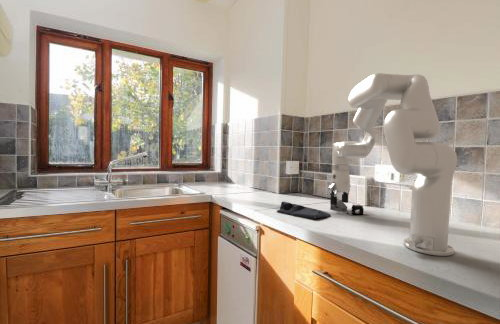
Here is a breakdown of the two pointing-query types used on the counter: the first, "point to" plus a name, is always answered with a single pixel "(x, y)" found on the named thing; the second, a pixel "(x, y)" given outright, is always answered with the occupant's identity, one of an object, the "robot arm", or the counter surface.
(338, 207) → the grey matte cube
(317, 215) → the dark grey rough slab
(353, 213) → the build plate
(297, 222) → the counter surface
